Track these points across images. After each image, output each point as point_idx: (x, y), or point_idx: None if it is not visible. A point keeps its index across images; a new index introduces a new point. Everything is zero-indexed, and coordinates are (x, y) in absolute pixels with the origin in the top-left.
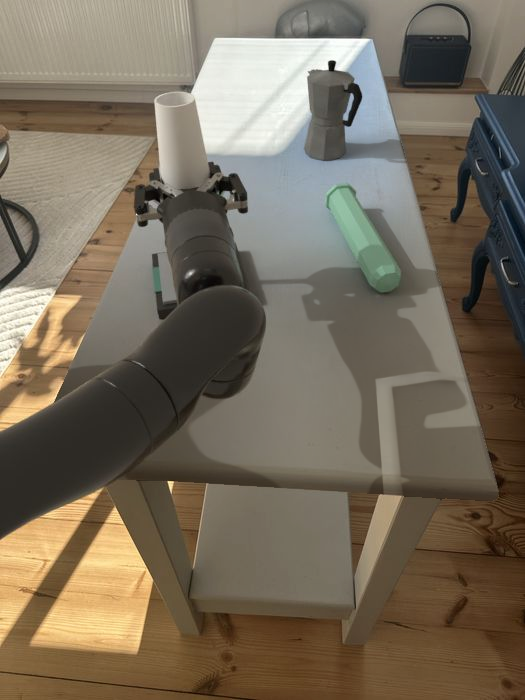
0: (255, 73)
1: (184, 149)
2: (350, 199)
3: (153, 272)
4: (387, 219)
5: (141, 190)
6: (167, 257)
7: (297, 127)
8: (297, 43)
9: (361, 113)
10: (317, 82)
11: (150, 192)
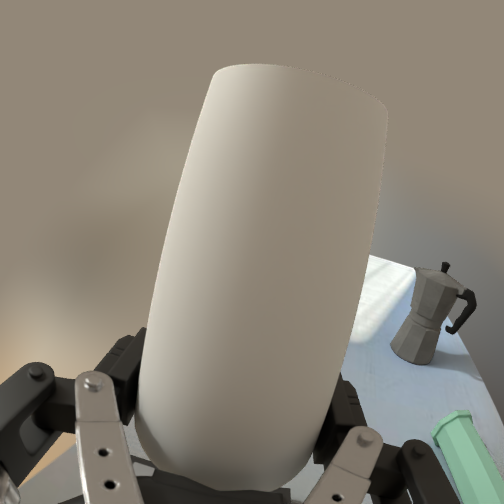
0: None
1: (270, 309)
2: (476, 438)
3: None
4: None
5: (21, 393)
6: None
7: (379, 319)
8: (369, 256)
9: None
10: (432, 278)
11: (64, 411)
